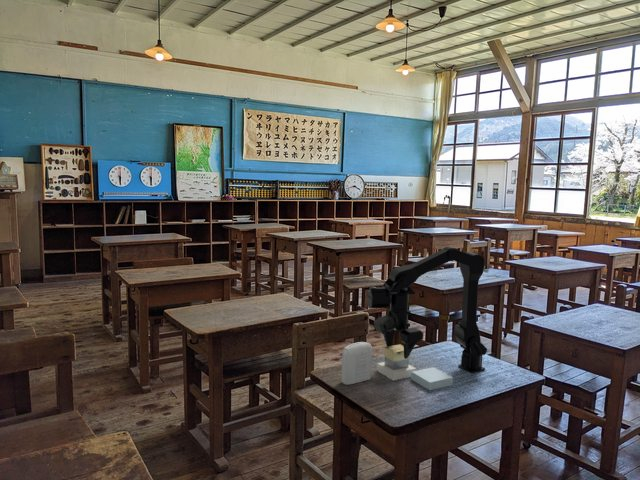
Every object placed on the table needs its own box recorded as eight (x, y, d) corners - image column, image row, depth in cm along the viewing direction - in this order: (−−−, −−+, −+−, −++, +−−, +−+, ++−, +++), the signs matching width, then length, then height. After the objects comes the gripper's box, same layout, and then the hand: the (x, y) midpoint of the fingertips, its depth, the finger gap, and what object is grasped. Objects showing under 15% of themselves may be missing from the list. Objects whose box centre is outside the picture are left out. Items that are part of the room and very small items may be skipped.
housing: (399, 361, 163) (400, 344, 162) (409, 367, 158) (410, 349, 157) (383, 364, 160) (383, 347, 159) (393, 370, 155) (394, 352, 154)
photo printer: (364, 375, 157) (366, 338, 156) (373, 379, 154) (374, 342, 152) (339, 381, 152) (340, 343, 150) (347, 386, 148) (348, 347, 146)
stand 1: (398, 366, 165) (399, 359, 165) (415, 375, 157) (415, 368, 157) (377, 370, 161) (377, 363, 161) (393, 380, 153) (393, 373, 153)
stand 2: (433, 374, 159) (433, 367, 158) (452, 385, 151) (452, 377, 150) (411, 379, 154) (411, 371, 154) (429, 390, 147) (430, 382, 146)
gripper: (362, 303, 161) (361, 348, 163) (396, 317, 144) (394, 367, 146) (390, 299, 166) (388, 343, 168) (425, 313, 149) (423, 361, 151)
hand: (397, 353), depth 158 cm, fingers open, 9 cm apart
